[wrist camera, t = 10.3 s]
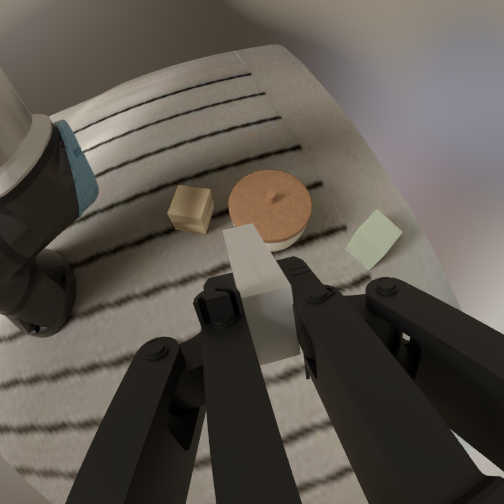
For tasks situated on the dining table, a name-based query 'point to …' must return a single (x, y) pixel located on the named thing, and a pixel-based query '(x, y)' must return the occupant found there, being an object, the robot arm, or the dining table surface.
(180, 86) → the dining table surface
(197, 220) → the beech block
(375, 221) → the sage block
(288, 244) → the lidded jar
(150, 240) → the dining table surface
